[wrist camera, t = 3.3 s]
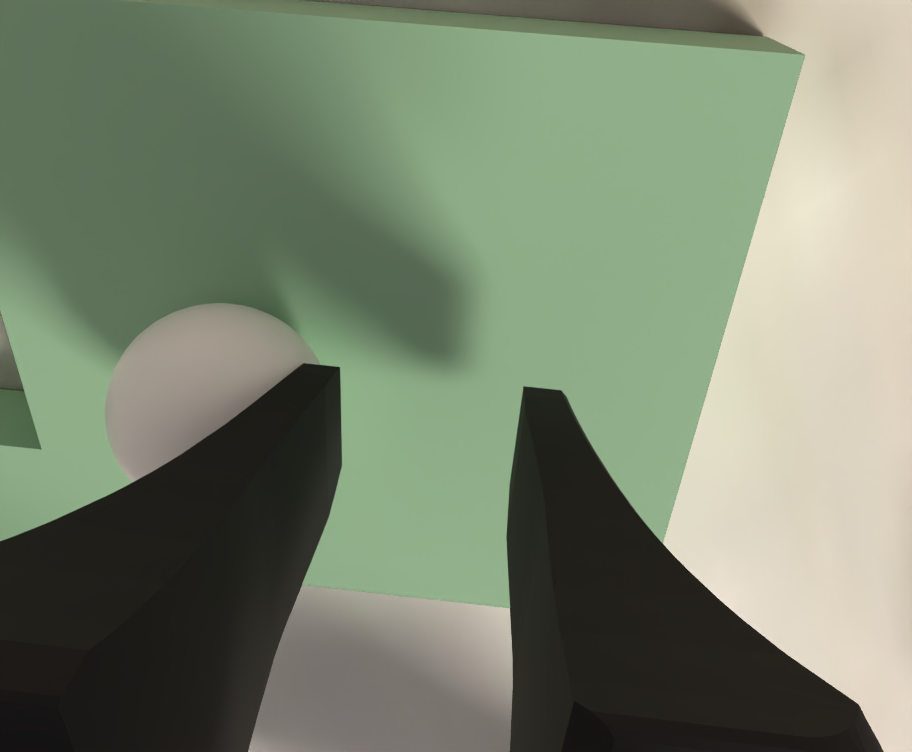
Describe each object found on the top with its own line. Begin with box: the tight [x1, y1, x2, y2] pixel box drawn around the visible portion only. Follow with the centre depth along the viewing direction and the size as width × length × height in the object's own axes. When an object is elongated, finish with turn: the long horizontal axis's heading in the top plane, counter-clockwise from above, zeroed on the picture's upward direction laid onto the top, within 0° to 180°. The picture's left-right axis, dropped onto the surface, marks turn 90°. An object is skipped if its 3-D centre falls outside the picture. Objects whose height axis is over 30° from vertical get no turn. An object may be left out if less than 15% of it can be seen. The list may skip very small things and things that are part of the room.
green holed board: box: [0, 0, 805, 608], centre depth 14 cm, size 22×12×4 cm, turn 87°
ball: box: [105, 303, 321, 482], centre depth 12 cm, size 4×4×4 cm
